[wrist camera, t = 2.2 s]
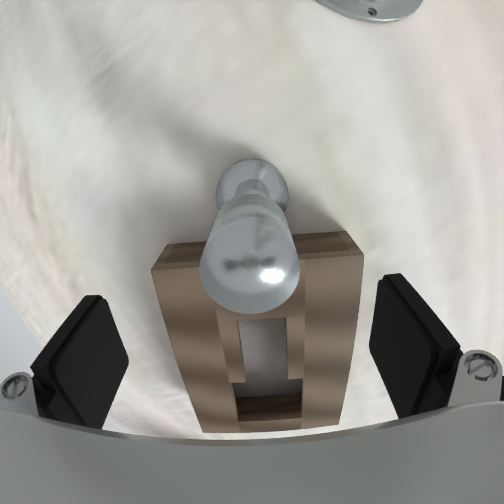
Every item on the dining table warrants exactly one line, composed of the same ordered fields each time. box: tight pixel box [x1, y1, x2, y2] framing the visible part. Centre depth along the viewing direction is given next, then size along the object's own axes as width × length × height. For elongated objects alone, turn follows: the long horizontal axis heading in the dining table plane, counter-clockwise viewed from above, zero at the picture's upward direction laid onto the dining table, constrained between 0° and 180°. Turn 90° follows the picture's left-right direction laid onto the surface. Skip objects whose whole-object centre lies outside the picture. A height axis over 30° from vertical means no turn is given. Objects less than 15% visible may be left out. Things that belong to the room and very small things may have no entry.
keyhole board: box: [151, 231, 364, 433], centre depth 29 cm, size 22×16×5 cm
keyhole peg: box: [199, 159, 300, 314], centre depth 18 cm, size 6×6×14 cm
